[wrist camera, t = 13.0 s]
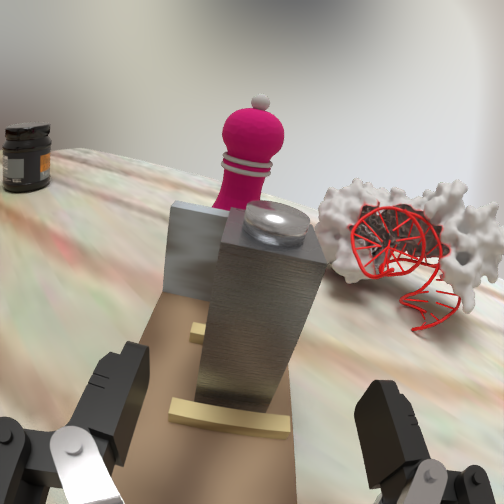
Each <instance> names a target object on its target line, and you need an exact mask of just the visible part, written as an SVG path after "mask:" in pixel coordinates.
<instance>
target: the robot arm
mask: <svg viewBox="0 0 504 504" xmlns="http://www.w3.org/2000/svg"><path fill="white" fill-rule="evenodd" d="M149 380H150V350H149V346H146V345H142V344H138V343H134V342H130V341H127V342H126V344H125V346H124V348H123V350H122V352H121V354H116V353H113V352H109V353H108V354H107V355H106V356H104V357H103V358H102V359H101V360H99V362H98V364H97V366H96V368H95V370H94V372H93V375H92V376H91V378H90V380H89V382H88V385H87V386H86V388H85V390H84V392H83V394H82V396H81V398H80V400H79V402H78V405H77V407H76V409H75V411H74V413H73V415H72V417H71V419H70V421H69V422H68V424H67V425H65V426H64V427H62V428H60V429H58V430H57V431H52V432H44V431H36V430H29V429H23V428H22V426H21V425H20V424H19V423H18V422H17V421H16V420H14V419H12V418H10V417H0V504H45V503H46V500H47V496H48V492H49V489H50V487H54V488H62V489H64V491H65V494H66V496H67V499H68V501H69V504H125V503H124V501H123V499H122V498H121V496H120V494H119V492H118V490H117V488H116V486H115V484H114V482H113V480H112V477H111V476H112V473H113V469H114V466H115V465H118V466H121V467H124V464H125V461H126V457H127V454H128V450H129V447H130V444H131V440H132V437H133V434H134V430H135V427H136V424H137V421H138V418H139V415H140V411H141V408H142V405H143V402H144V399H145V396H146V393H147V390H148V386H149ZM354 418H355V423H356V427H357V432H358V436H359V440H360V445H361V450H362V454H363V459H364V464H365V469H366V473H367V478H368V483H369V489H377V488H381V492H382V493H380V494H379V495H378V497H377V499H376V500H375V502H374V504H496V503H495V499H494V496H493V492H492V489H491V485H490V482H489V479H488V476H487V473H486V472H485V470H484V469H483V468H482V467H480V466H478V465H471V466H469V467H468V468H466V469H465V470H464V471H463V472H458V471H449V470H446V468H445V467H444V465H443V464H442V463H441V462H439V461H437V460H435V459H431V458H430V455H429V452H428V449H427V446H426V444H425V441H424V438H423V435H422V432H421V430H420V427H419V426H418V421H417V419H416V417H415V413H414V411H413V408H412V406H411V403H410V402H409V401H408V400H407V398H406V397H405V396H404V395H403V394H400V393H399V390H398V387H397V385H396V383H395V382H394V381H393V380H374V381H373V382H372V383H371V384H370V386H369V387H368V389H367V390H366V392H365V393H364V395H363V396H362V397H361V399H360V400H359V402H358V403H357V405H356V407H355V411H354Z"/></svg>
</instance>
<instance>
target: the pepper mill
mask: <svg viewBox="0 0 504 504" xmlns="http://www.w3.org/2000/svg"><path fill="white" fill-rule="evenodd" d="M251 104H252V106H253V108H246V109H241V110H237V111H235V112H234V113H232V114H231V115H230V116H229V117H228V118H227V120H226V122H225V124H224V127H223V132H222V137H223V141H224V143H225V145H226V146H227V150H228V152H225V153H223V157H224V158H223V161H222V162H221V166H222V167H223V168H224V177H223V182H222V186H221V190H220V193H219V195H218V197H217V199H216V201H215V203H214V204H213V206H212V208H217V209H222V210H226V211H230V209H231V207H233V208H238V209H243V210H246V206H247V204H248V203H249V202H251V201H258V200H260V195H261V190H262V186H263V183H264V180H265V177H267V176H269V175H270V174H271V172H270V169H271V168H270V167H272V166H273V164H272V162H271V161H270V159H271V157H272V156H273V155H275V154H276V153H277V152H278V151H279V150H280V149H281V147H282V145H283V141H284V129H283V126H282V124H281V122H280V121H279V119H277V118H276V117H275V116H274V115H272V114H271V113H269V112H267V111H265V110H266V109H267V108H268V107H269V105H270V101H269V98H268V97H267V96H266V95H263V94H258V95H255V96H254V97H253V98H252V101H251Z"/></svg>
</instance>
